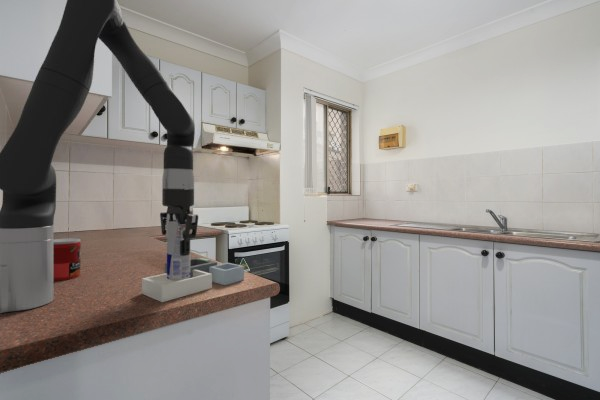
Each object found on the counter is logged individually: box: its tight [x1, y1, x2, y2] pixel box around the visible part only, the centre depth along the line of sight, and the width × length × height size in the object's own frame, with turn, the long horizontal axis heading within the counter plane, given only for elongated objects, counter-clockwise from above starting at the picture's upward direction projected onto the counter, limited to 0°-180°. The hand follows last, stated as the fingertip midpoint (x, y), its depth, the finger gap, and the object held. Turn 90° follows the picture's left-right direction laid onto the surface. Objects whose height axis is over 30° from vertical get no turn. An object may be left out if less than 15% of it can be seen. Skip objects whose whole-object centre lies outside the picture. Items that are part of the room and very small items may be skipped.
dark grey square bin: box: [164, 257, 218, 278], centre depth 89 cm, size 10×10×5 cm
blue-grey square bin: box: [209, 262, 245, 286], centre depth 87 cm, size 7×7×4 cm
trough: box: [141, 269, 213, 303], centre depth 77 cm, size 14×10×4 cm
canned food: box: [53, 237, 82, 282], centre depth 88 cm, size 8×8×11 cm
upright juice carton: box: [166, 221, 192, 281], centre depth 77 cm, size 6×6×15 cm
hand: (178, 253), depth 77 cm, fingers closed on upright juice carton, 5 cm apart
